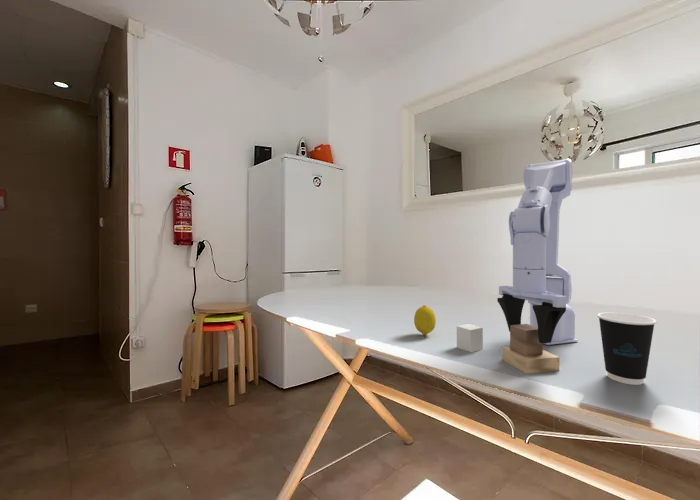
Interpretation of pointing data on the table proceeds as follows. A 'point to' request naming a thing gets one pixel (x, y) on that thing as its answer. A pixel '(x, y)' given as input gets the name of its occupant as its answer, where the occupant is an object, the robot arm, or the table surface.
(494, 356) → the table surface
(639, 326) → the dixie cup
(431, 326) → the lemon
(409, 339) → the table surface
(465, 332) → the grey block
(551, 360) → the oak slab
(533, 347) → the walnut block
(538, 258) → the robot arm
